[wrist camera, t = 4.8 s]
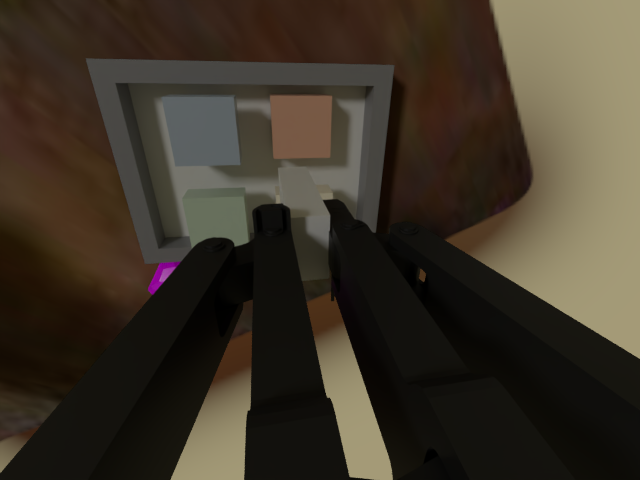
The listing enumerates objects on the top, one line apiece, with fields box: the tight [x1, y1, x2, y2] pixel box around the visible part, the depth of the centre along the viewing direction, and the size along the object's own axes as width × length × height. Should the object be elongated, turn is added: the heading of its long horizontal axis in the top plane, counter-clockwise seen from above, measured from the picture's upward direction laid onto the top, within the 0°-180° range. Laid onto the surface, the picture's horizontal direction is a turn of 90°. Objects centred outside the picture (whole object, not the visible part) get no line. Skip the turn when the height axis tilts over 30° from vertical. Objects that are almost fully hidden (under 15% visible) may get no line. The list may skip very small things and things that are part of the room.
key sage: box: [182, 187, 250, 248], centre depth 30 cm, size 5×5×2 cm
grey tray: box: [86, 59, 394, 264], centre depth 31 cm, size 24×18×3 cm
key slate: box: [161, 95, 242, 167], centre depth 26 cm, size 5×5×2 cm
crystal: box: [148, 262, 180, 295], centre depth 35 cm, size 5×5×5 cm
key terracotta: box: [270, 94, 332, 159], centre depth 29 cm, size 5×5×2 cm
